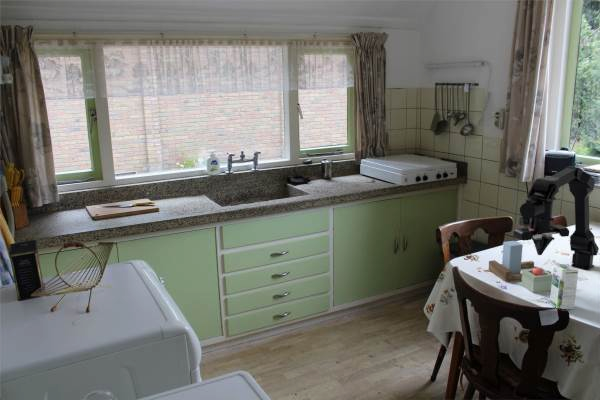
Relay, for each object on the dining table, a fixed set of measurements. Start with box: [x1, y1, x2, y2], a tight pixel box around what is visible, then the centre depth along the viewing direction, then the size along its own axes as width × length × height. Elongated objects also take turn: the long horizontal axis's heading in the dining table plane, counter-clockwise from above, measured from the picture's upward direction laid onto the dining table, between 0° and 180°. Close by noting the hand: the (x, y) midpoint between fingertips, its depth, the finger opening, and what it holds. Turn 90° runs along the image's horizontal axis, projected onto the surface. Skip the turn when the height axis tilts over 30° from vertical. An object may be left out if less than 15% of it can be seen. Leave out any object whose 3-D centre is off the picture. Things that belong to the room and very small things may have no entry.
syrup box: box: [549, 263, 579, 310], centre depth 174 cm, size 6×6×14 cm
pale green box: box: [520, 268, 553, 294], centre depth 190 cm, size 8×7×6 cm
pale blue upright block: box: [501, 240, 523, 274], centre depth 202 cm, size 5×5×13 cm
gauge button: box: [532, 267, 545, 276], centre depth 190 cm, size 4×4×3 cm
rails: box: [500, 260, 552, 282], centre depth 204 cm, size 17×12×2 cm
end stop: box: [488, 260, 512, 283], centre depth 203 cm, size 2×12×4 cm, turn 10°
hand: (539, 254), depth 188 cm, fingers closed
